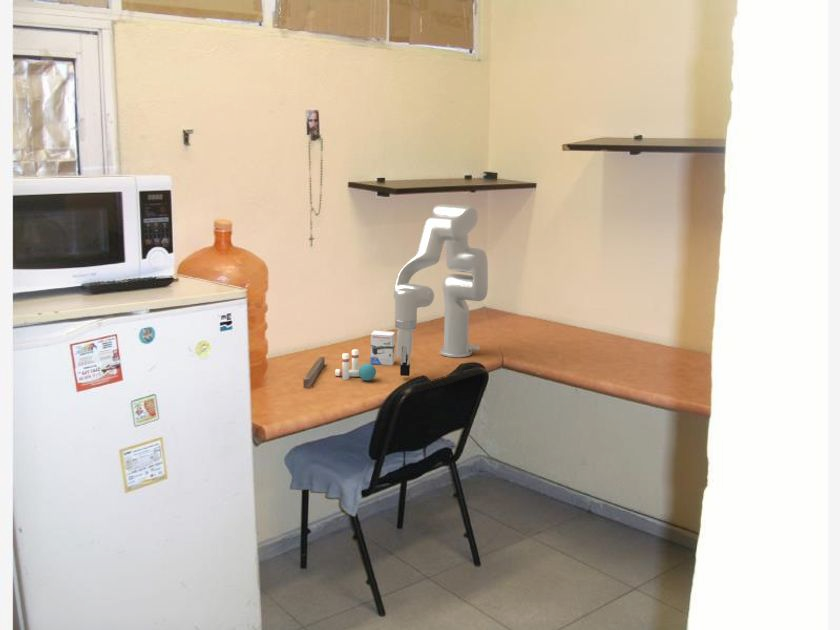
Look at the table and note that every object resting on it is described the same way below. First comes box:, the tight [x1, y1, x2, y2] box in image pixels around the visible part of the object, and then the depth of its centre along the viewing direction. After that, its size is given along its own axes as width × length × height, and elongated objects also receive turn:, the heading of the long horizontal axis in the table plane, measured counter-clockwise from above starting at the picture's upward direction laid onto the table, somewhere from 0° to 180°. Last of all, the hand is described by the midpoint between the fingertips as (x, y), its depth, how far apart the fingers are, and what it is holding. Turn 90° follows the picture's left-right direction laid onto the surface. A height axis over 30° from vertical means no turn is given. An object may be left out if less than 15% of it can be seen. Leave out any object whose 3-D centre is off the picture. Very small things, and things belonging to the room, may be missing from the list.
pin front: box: [334, 368, 361, 378], centre depth 282 cm, size 2×2×9 cm
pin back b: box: [341, 352, 350, 381], centre depth 278 cm, size 2×2×9 cm
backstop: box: [302, 356, 326, 389], centre depth 282 cm, size 2×28×3 cm, turn 176°
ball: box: [359, 363, 377, 382], centre depth 278 cm, size 6×6×6 cm
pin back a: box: [351, 348, 360, 370], centre depth 284 cm, size 2×2×9 cm
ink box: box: [370, 330, 396, 366], centre depth 298 cm, size 8×5×12 cm, turn 82°
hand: (404, 375), depth 280 cm, fingers closed
